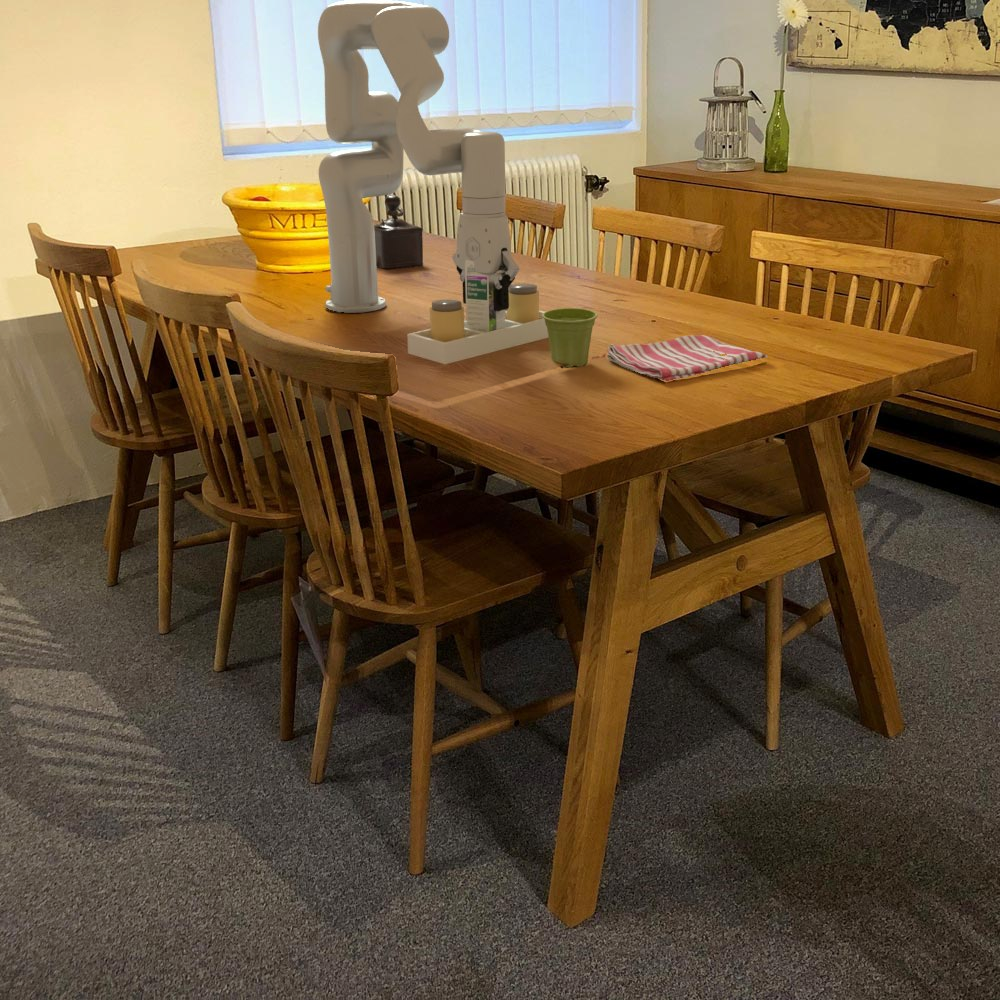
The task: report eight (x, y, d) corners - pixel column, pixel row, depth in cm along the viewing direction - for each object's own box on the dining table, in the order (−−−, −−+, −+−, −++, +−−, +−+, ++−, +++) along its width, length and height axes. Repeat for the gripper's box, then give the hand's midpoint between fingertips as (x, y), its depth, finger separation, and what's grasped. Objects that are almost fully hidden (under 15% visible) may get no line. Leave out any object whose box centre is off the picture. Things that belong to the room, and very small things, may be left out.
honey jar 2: (500, 334, 216) (500, 286, 212) (523, 328, 219) (523, 281, 216) (522, 339, 212) (522, 291, 208) (545, 333, 215) (545, 286, 212)
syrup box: (465, 340, 208) (463, 259, 202) (478, 332, 213) (476, 253, 207) (494, 343, 206) (493, 261, 200) (506, 335, 211) (505, 255, 205)
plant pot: (580, 373, 194) (581, 323, 190) (532, 366, 198) (532, 316, 195) (605, 360, 201) (607, 311, 198) (558, 353, 206) (559, 305, 202)
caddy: (408, 357, 204) (407, 333, 203) (523, 328, 222) (523, 306, 221) (445, 368, 198) (444, 344, 196) (561, 338, 216) (561, 315, 214)
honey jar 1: (424, 353, 204) (422, 303, 201) (449, 346, 208) (448, 297, 204) (446, 359, 200) (444, 308, 196) (472, 352, 204) (470, 302, 200)
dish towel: (603, 363, 201) (603, 344, 200) (708, 344, 212) (709, 326, 210) (661, 387, 187) (662, 367, 186) (771, 366, 198) (772, 347, 196)
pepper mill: (366, 263, 286) (362, 189, 279) (407, 259, 291) (404, 185, 284) (391, 274, 273) (387, 196, 266) (433, 269, 278) (430, 193, 271)
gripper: (435, 203, 204) (438, 302, 211) (502, 213, 192) (503, 317, 199) (466, 199, 209) (469, 295, 215) (534, 208, 197) (534, 310, 204)
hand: (485, 305), depth 207 cm, fingers closed on syrup box, 7 cm apart
